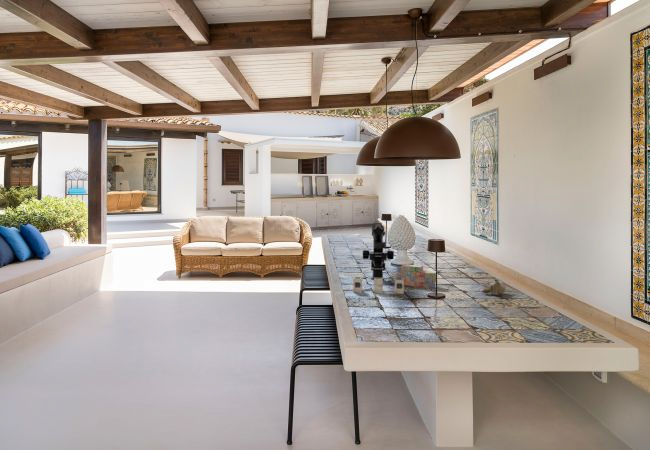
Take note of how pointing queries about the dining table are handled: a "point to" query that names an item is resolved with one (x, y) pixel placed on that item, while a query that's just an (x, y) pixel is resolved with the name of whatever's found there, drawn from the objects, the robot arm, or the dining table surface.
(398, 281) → the marked block 2
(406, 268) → the stack of blocks
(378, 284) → the plain block
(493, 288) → the ceramic sculpture
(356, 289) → the marked block 1
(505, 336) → the dining table surface
